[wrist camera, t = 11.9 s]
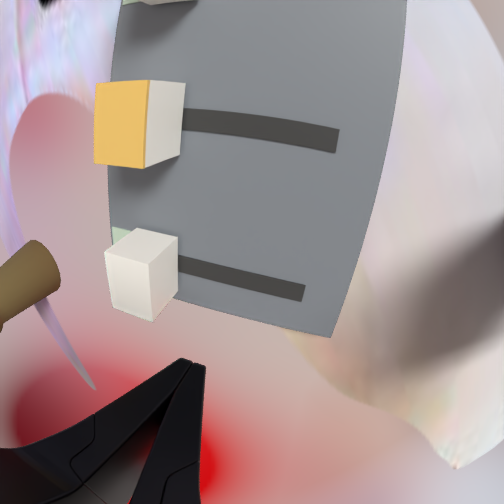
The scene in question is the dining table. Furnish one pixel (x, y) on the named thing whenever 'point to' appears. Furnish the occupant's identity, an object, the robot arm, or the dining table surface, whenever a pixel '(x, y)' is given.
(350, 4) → the panel
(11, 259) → the cork
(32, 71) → the dining table surface
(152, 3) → the block
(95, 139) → the block
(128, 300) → the block
